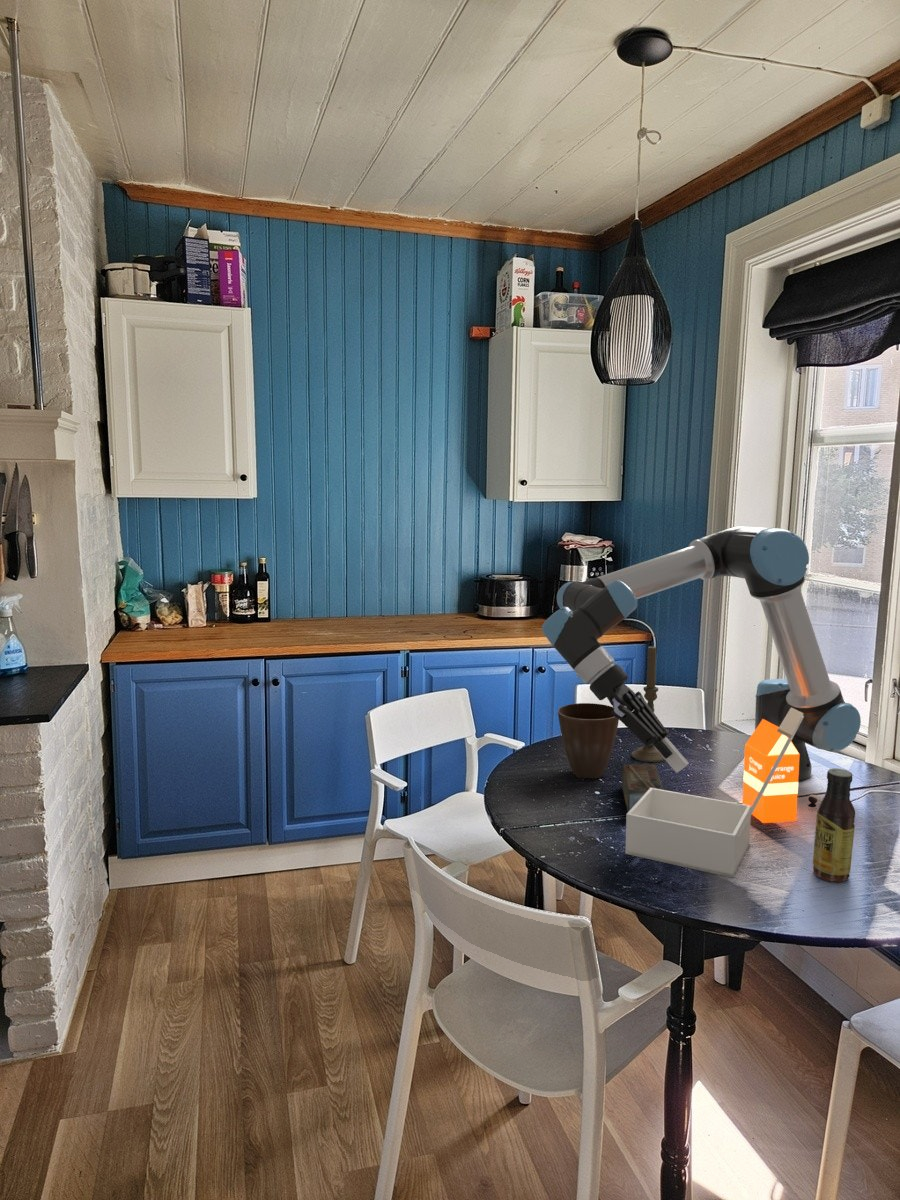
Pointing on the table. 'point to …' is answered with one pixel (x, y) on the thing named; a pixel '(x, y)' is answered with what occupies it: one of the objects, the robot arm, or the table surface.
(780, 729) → the mailer lid
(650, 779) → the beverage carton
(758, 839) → the table surface
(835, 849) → the sauce bottle
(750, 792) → the orange juice
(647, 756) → the candlestick holder
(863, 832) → the table surface
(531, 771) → the table surface
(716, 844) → the box
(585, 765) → the plant pot
